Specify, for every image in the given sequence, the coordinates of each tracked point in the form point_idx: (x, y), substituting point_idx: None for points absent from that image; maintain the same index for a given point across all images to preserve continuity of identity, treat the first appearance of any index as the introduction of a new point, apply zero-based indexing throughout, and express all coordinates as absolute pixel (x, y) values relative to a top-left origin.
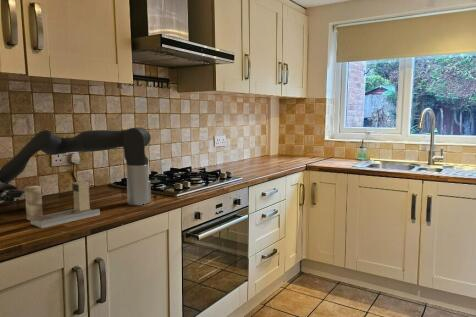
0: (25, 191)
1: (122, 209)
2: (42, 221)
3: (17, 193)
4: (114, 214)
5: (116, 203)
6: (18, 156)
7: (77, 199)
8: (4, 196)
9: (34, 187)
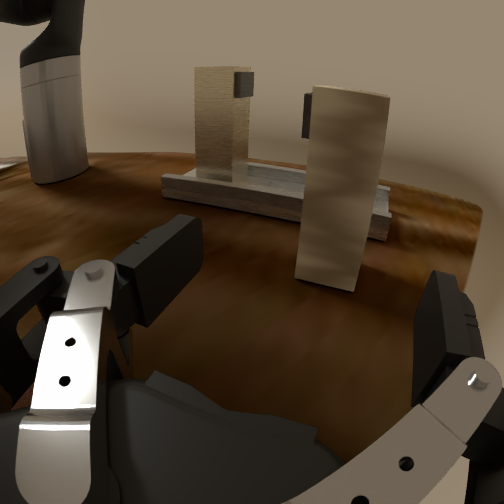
0: (386, 125)
1: (127, 170)
2: (385, 187)
3: (171, 395)
4: (184, 165)
5: (44, 197)
6: None
7: (243, 127)
8: (463, 352)
9: (357, 90)
